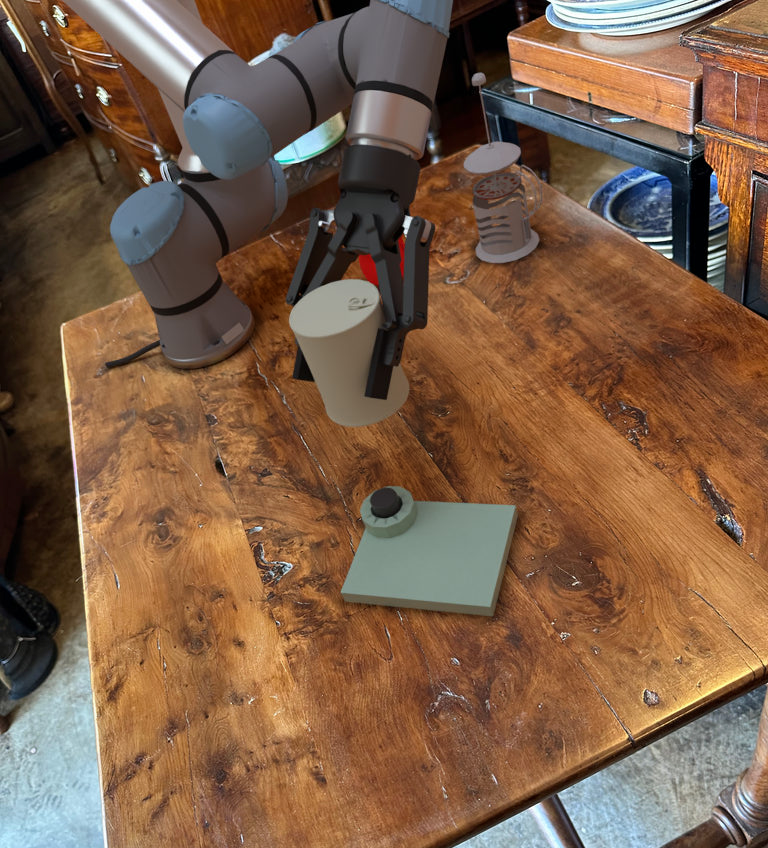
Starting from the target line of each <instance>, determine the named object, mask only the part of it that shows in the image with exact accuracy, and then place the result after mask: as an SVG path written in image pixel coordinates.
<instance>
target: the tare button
mask: <svg viewBox="0 0 768 848" xmlns="http://www.w3.org/2000/svg"><path fill="white" fill-rule="evenodd" d="M376 490H377V491H375V490H374V491H375V492H374V491H373V492H374V493H373V494H372V496H371V498H370V503H371V506H372V508H373V510H374V513H375V515H376V516H378V517H379V518H389V517H392V516H394V515H396V514H397V513H398V512H399V510H400V507H401V504H400V501H399V498H398V496H397V493H396V491H395V490H393V489H392V488H384V487H381V488H379V489H376Z"/></svg>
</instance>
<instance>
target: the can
mask: <svg viewBox="0 0 768 848" xmlns="http://www.w3.org/2000/svg"><path fill="white" fill-rule="evenodd" d="M288 318H289V319H288V323H289V328H290V329H291V330H292V332H293V334H294V337H295V336H296V338H297V341H298V343H299V345H300V348H301V350H302V352H303V354H304V357H305V359H306V361H307V363H308V366H309V368H310V370H311V373H312V375H313V377H314V380H315V382H314V383H315V384H316V387H317V389H318V392H319V394H320V396H321V399H322V402H323V404H324V408H325V413H326V415H327V417H328V418H329V419H330V420H331V421H332V422H334V423H335V424H337V425H339V426H341V427H346V428H362V427H368V426H372V425H375V424H377V423H381V422H382V421H385V420H386V419H388V418H389V417H391V416H393V415H395V413H397V412H398V411H399V410H400V409H401V408H402V407H403V405H404V404H405V403H406V401H407V399H408V398H409V397H408V396H409V395H410V383H409V380H408V378H407V377H406V375H405V372H404V368H403V367H402V364H401V362H400V364H399V366H398V367H396V366H393V371H392V376H391V381H390V386H389V391H388V396H387V400H382V399H375V398H369V397H365V396H364V395H365V390H366V385H367V380H368V375H369V370H370V365H371V360H372V354H373V349H374V344H375V340H376V336H377V331H378V328H379V329H384V330H388V329H385V328H383V327H382V325H381V324H384V323H385V317H384V312H383V306H382V300H381V294H380V290H379V289H378V288H377V287H376V285H374V284H372V283H370V282H369V281H368V280H363V279H356V278H355V279H354V278H349V279H341V280H340V281H336V282H332V283H329V284H326V285H324V286H321V287H319V288H317V289H315V290H313V291H312V292H310V293H308V294H307V295H306V296H304V297H303V298H302V299H301V300H300V301H299V302H298V303H297V304H296V305H295V306H294V307H293V308H292V309H291V312H290V314H289V317H288Z"/></svg>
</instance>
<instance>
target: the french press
mask: <svg viewBox="0 0 768 848" xmlns="http://www.w3.org/2000/svg"><path fill="white" fill-rule="evenodd" d="M486 82H487V78H486V76H485V74H484V73H483V72H477V73H474V74H473V76H472V78H471V85H472V86H473V87H477V86H478V90H479V96H480V101H481V106H482V113H483V118H484V123H485V124H484V125H485V130H486V136H487V141H488V143H486V144H482V145H480V146H479V147H477V148H476V149H475V150H473V151H472V152H471V153H470V154H468V155H467V156H466V158H465V160H464V161H463V168H464V169H465V171H466V172H468V173H469V174H471V175H476V176H485V177H483V178H481V179H480V180H478V181H477V182H475V184H474V186H473V187H472V189H471V191H472V194H473V197H472V206H473V213H474V216H475V222H476V227H477V232H478V239H479V242H478V244H477V245H476V247H475V256H476V257H477V258H478V259H480V261H483V262H486V263H490V264H504V263H508V262H509V263H510V262H513V261H517V260H519V259H522V258H524V257H526V256H528V255H529V254H531V252H532V251H534V250H535V249H536V248H537V247H538V244H539V242H540V237H539V234H538V233H537V232H536V231H535V230H533V229H532V228H531V222H530V218H531V217H532V216H533V215H534V214H535V213H536V212H537V210H539V209H540V207H541V204H542V201H543V197H544V196H543V186H542V183H541V181H540V179H539V177H538V175H537V174H536V173H535V171H534V170H532V169H531V168H530V167H528V166H527V165H525V164H521V165H520V166H519V170H516V171H514V172H510V171H507V172H502V171H504V170H508V169H509V168H511V167H512V166H513V165H515V163H517V162H518V160H519V158H520V157H521V154H522V151H521V147H519V146H518V145H516V144H514V143H512V142H504V141H499V140H498V141H497V140H496V141H493V142H491V139H490V134H489V127H488V122H487V121H488V120H487V117H486V109H485V104H484V98H483V93H482V87H481V86H482V85H484V84H485V83H486ZM523 168H524V169H526V170H527V171H528V172H530V173H531V174H532V175H533V176H534V178H535V180H536V181H537V183H538V185H539V191H540V192H539V193H540V198H539V202H538V198H537V190H536V188H535V186H534V184H533V183H532V181H531V180H530V178H528V177H527V176H526V174H524V173H523ZM522 177H523V178H524V179H525V180H526V181H527V182H529V185H530V186H531V188H532V191H533V194H534V207H533V210H531V211H529V209H528V201H527V194H526V189H525V185H524V184H523V183H522V181H523V180H522ZM517 190H520V191H521V192H522V193H523V194H522V193H520V192H518V191H517ZM516 191H517V192H516ZM512 198H518V199H516V200H512V201H511V202H508V201H509V200H511V199H512ZM491 200H494V202H490V203H489V201H491ZM495 200H496V201H495ZM522 200H523V201H522ZM505 202H508V203H507V204H506V205H504V206H501V207H500V205H502V204H504V203H505ZM497 206H499V207H497ZM523 208H524V209H523ZM492 216H498V217H494V218H492ZM507 218H508V219H507Z"/></svg>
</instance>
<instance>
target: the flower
mask: <svg viewBox="0 0 768 848" xmlns="http://www.w3.org/2000/svg"><path fill="white" fill-rule="evenodd" d="M403 236H404V234H403V235H402V236H401V238H400V239H399V240H398V243H399V248H400V254H401V263H400V269H401V275H402V279H404V249H405V240H404V237H403ZM358 263H359V268H360V269H361V273H362V274H363V276H364V277H365V279H366V281H367V282H370V283H372V284H373V285H374V286H379V283H378V277H377V272H376V266H375V262H374V261H373V260H372V258H371V255H370V254H368V255H359V257H358Z"/></svg>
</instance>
